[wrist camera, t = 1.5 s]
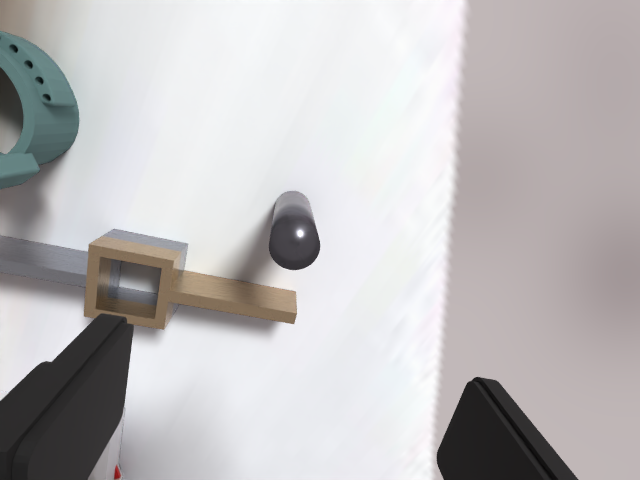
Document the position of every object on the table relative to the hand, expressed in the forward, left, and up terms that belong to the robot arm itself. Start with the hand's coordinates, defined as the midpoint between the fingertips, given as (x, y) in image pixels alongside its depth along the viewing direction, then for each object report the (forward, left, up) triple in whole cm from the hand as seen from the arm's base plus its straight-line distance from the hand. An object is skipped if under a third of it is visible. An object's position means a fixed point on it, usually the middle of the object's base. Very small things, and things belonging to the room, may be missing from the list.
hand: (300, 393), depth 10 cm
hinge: (+8, -11, -22) cm, 26 cm away
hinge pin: (0, 0, -22) cm, 22 cm away
